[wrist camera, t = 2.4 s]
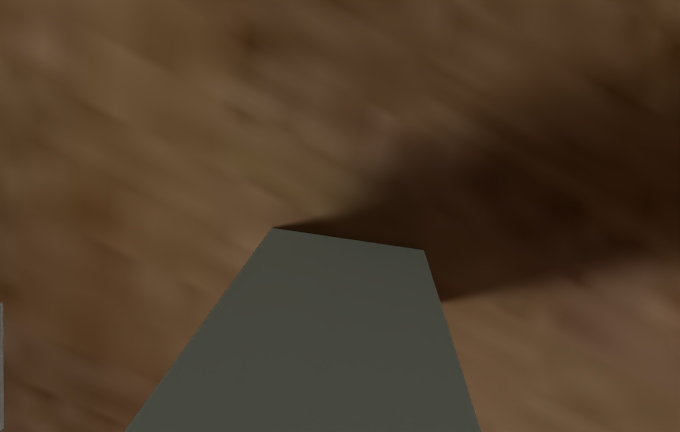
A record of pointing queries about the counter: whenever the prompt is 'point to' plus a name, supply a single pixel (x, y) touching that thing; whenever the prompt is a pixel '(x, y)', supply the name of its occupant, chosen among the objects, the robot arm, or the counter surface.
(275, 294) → the sage domino
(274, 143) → the counter surface
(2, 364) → the robot arm
